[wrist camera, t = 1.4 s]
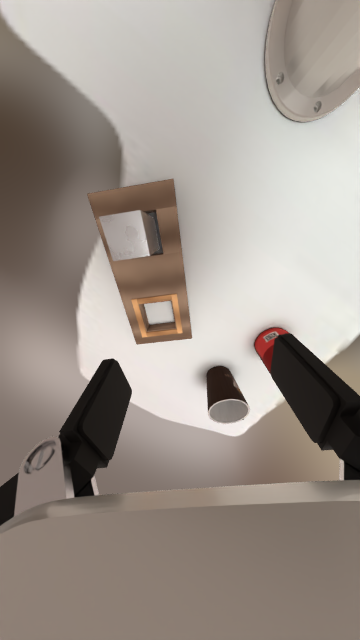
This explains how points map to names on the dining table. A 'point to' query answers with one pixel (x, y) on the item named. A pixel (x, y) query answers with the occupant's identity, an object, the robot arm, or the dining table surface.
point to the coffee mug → (224, 397)
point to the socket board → (149, 261)
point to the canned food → (267, 345)
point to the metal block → (130, 234)
